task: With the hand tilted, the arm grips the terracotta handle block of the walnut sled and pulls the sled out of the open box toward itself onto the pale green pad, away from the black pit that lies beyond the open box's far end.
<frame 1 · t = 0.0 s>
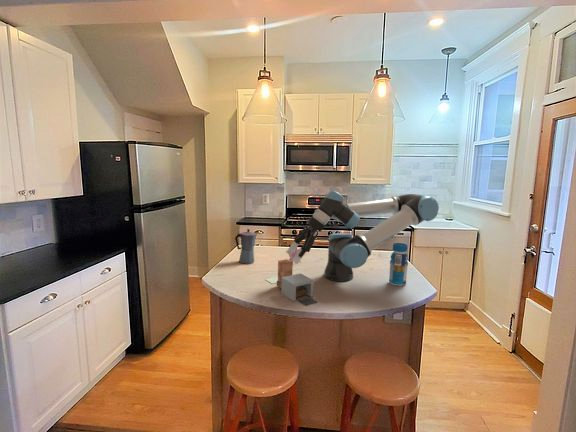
hand: (291, 257, 143), 15 cm above the countertop, tool tilted 35°, fingers open, 13 cm apart
moka pot: (246, 262, 186), on the countertop
beverage bottle: (397, 283, 156), on the countertop
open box: (297, 294, 139), on the countertop
sled: (290, 277, 143), point 7 cm above the countertop, slide at 0.0 cm
lily: (294, 263, 186), on the countertop
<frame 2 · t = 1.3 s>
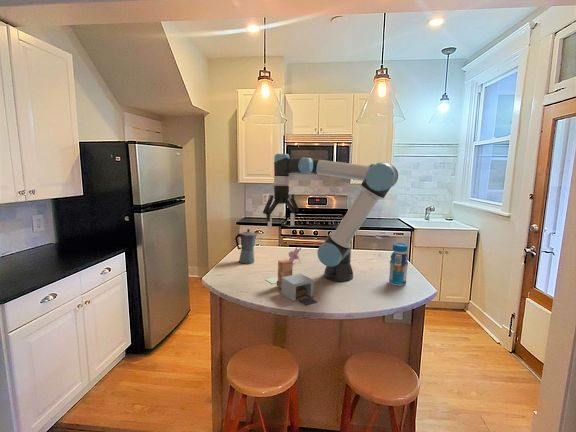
hand: (281, 226, 159), 26 cm above the countertop, tool pointing down, fingers open, 13 cm apart
nothing on the countertop moved.
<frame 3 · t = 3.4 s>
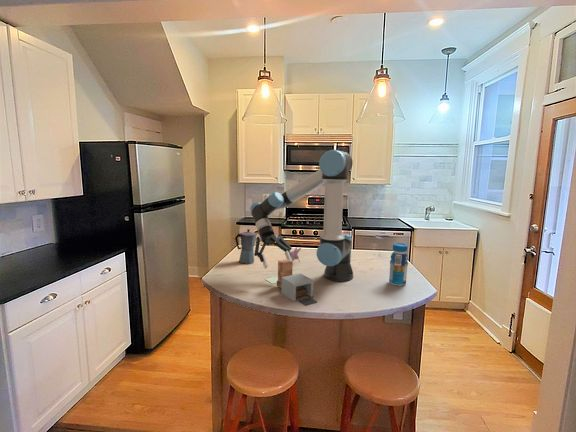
hand: (278, 265, 150), 10 cm above the countertop, tool tilted 45°, fingers open, 13 cm apart
nothing on the countertop moved.
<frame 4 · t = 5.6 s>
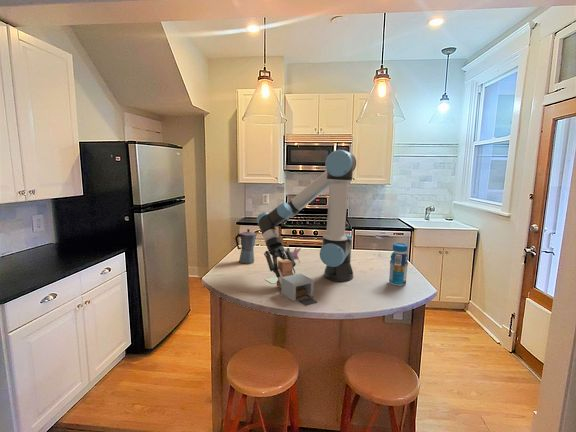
hand: (289, 281, 144), 4 cm above the countertop, tool tilted 45°, fingers closed on sled, 6 cm apart
sled: (290, 277, 143), point 7 cm above the countertop, slide at 0.0 cm, touching gripper
everything else where it was.
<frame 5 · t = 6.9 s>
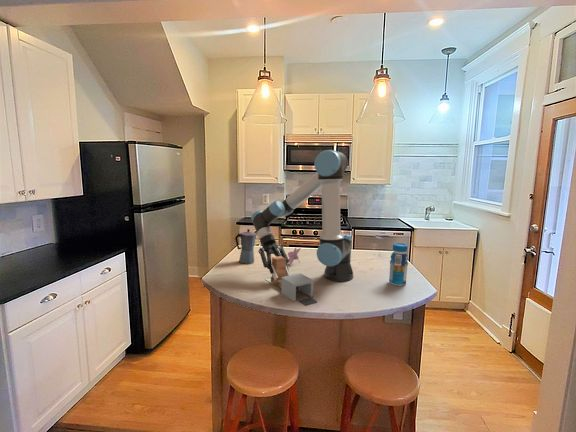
hand: (282, 277, 150), 4 cm above the countertop, tool tilted 45°, fingers closed on sled, 6 cm apart
sled: (284, 273, 148), point 7 cm above the countertop, slide at 6.0 cm, touching gripper
everything else where it was.
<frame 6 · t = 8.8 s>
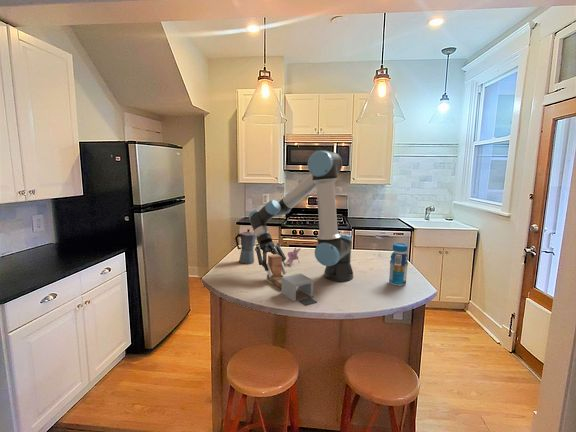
hand: (278, 274, 153), 4 cm above the countertop, tool tilted 45°, fingers open, 7 cm apart
sled: (280, 270, 151), point 7 cm above the countertop, slide at 10.0 cm
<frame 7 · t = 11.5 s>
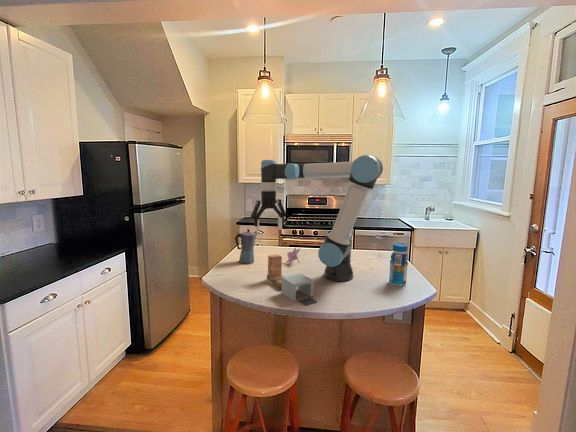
hand: (269, 231, 162), 23 cm above the countertop, tool pointing down, fingers open, 13 cm apart
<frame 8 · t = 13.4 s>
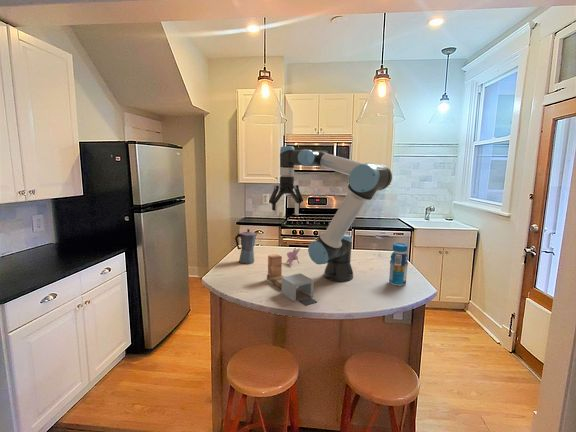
hand: (286, 215, 168), 31 cm above the countertop, tool pointing down, fingers open, 13 cm apart
at the end: sled slide at 10.0 cm; sled inside the target area (0.1 cm from its centre), resting on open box; the gripper is holding nothing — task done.
